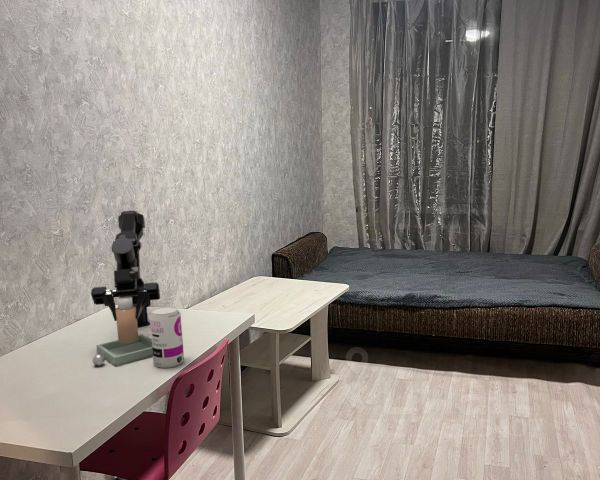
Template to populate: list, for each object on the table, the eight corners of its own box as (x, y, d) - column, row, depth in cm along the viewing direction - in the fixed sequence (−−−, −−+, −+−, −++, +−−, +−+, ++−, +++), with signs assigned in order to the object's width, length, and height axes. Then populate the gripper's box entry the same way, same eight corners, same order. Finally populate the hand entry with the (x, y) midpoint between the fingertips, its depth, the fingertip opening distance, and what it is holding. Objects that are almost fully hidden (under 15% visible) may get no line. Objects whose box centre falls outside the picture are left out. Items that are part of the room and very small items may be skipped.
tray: (142, 342, 185) (142, 334, 184) (163, 353, 174) (162, 345, 174) (97, 353, 176) (96, 345, 176) (115, 366, 166) (114, 357, 165)
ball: (102, 362, 169) (101, 351, 169) (107, 365, 167) (106, 354, 166) (91, 365, 167) (90, 354, 167) (95, 368, 165) (94, 357, 164)
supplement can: (187, 357, 170) (183, 305, 168) (179, 368, 162) (174, 314, 159) (159, 357, 171) (155, 306, 168) (149, 369, 163) (144, 314, 160)
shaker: (126, 336, 178) (122, 294, 176) (142, 337, 176) (138, 295, 174) (114, 342, 173) (110, 300, 171) (131, 344, 171) (127, 301, 169)
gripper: (88, 260, 173) (86, 308, 164) (156, 255, 176) (157, 302, 167) (95, 280, 182) (93, 327, 173) (159, 275, 185) (160, 321, 176)
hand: (126, 319), depth 172 cm, fingers closed on shaker, 6 cm apart
